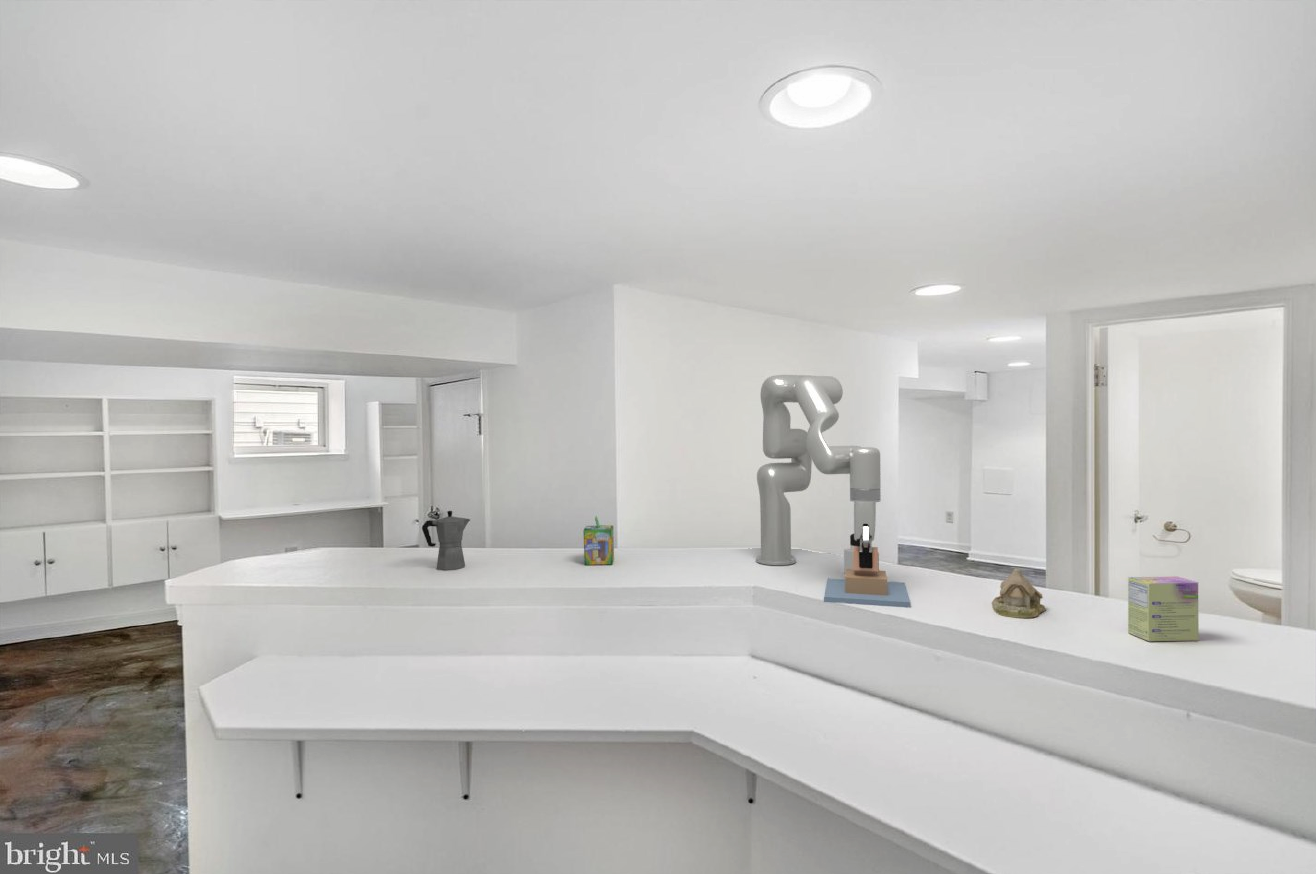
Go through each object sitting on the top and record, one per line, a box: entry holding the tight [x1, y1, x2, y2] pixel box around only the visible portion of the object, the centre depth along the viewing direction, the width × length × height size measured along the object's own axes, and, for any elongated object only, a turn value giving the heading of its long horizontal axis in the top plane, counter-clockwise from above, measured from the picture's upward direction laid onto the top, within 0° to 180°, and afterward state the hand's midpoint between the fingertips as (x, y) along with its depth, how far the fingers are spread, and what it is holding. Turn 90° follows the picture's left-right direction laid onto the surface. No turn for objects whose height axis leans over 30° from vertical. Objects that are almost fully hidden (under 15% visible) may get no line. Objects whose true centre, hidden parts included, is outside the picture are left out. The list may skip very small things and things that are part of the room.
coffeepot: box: [421, 510, 471, 571], centre depth 205 cm, size 15×9×18 cm, turn 129°
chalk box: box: [582, 515, 615, 566], centre depth 210 cm, size 9×9×15 cm
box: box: [1127, 576, 1200, 642], centre depth 132 cm, size 10×6×12 cm, turn 92°
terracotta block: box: [853, 546, 879, 571], centre depth 167 cm, size 6×6×5 cm
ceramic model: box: [991, 567, 1047, 619], centre depth 152 cm, size 14×11×10 cm
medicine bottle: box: [843, 533, 880, 574], centre depth 189 cm, size 7×7×12 cm
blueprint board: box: [823, 569, 911, 608], centre depth 167 cm, size 20×20×5 cm
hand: (865, 564), depth 167 cm, fingers closed on terracotta block, 6 cm apart
